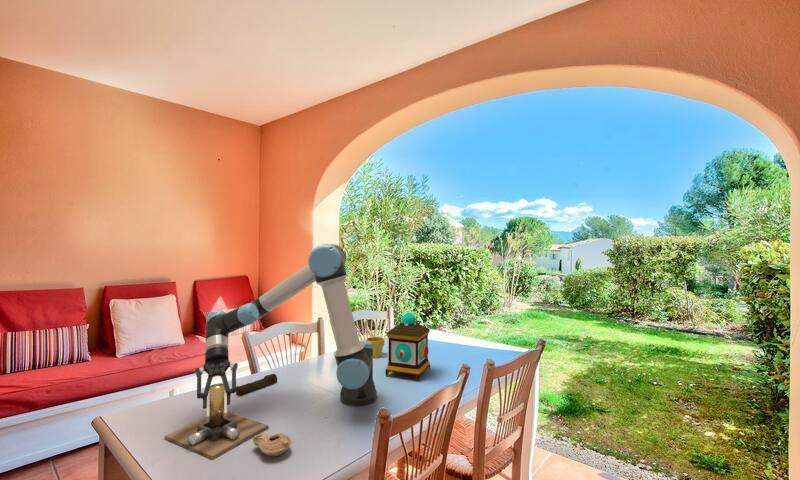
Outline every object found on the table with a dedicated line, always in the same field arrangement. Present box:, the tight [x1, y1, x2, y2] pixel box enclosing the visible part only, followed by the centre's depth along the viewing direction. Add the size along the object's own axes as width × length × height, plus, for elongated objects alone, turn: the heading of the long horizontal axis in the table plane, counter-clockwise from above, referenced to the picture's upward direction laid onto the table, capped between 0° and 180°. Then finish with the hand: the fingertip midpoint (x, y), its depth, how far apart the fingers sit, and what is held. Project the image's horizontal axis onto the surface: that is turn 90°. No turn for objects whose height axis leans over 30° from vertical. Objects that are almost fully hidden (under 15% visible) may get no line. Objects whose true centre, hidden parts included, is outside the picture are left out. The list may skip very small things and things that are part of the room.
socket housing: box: [187, 417, 240, 446], centre depth 118 cm, size 13×13×3 cm
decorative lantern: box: [385, 312, 431, 382], centre depth 182 cm, size 20×20×30 cm
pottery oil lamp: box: [252, 432, 293, 457], centre depth 113 cm, size 9×12×7 cm
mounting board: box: [164, 411, 270, 460], centre depth 123 cm, size 24×21×1 cm
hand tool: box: [235, 373, 278, 397], centre depth 161 cm, size 19×4×5 cm, turn 140°
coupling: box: [208, 382, 225, 426], centre depth 122 cm, size 4×4×12 cm
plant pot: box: [365, 336, 386, 359], centre depth 209 cm, size 10×10×10 cm
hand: (216, 415), depth 119 cm, fingers closed on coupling, 4 cm apart
